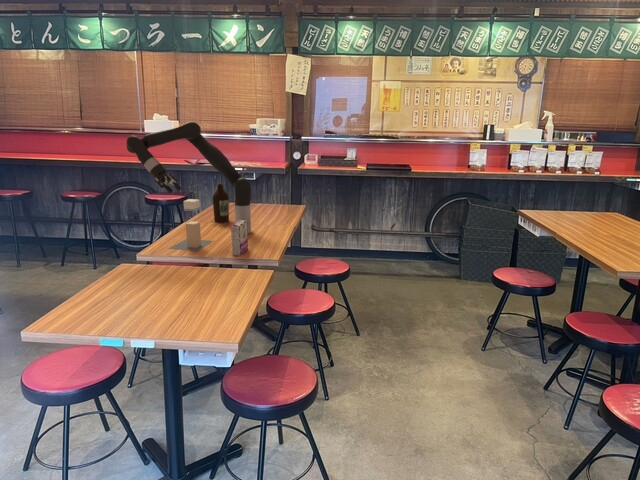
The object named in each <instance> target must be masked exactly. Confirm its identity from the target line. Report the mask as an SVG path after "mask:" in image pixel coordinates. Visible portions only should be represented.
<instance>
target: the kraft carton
mask: <svg viewBox="0 0 640 480" xmlns="http://www.w3.org/2000/svg"><path fill="white" fill-rule="evenodd" d="M185 233H186V239H187V247H192V248H197V247H199V246H201V240H202V235H201V233H202V232H201V221H193V220H192V221H189V222H186V223H185Z"/></svg>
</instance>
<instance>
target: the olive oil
mask: <svg viewBox="0 0 640 480" xmlns="http://www.w3.org/2000/svg"><path fill="white" fill-rule="evenodd" d="M223 184H224V183H222V182H218V183H217V189H216V191H215V192H214V193H213V194H212V197H211V198H212V207H213V218H214V222H215V223H227V222H229V220H230V218H229V217H230V196H229V194H228V193H227V191H225V190H224V188H223V187H224V186H223Z"/></svg>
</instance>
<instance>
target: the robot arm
mask: <svg viewBox="0 0 640 480" xmlns="http://www.w3.org/2000/svg"><path fill="white" fill-rule="evenodd" d="M201 130H202V129H201V126H200V125H199V124H198V123H197V122H194V121H188V122H185V123H184V124H182V125H180V126H177V127H174V128H170V129H166V130H160V131H155V132H151V133H147V134H144V136H143V137H141V138H139V136H137V135H130V136H128V137H127V139H126V150H127V151H128V152H129V153H131V154H135V155H136V156H137V159H138V161H139V162H140V163H141V164H142V165H143V166H144V167H145V169H146V170H147V172H148V173H149V174H150V175H151V176H152V177H153V178H154V181H155V182H156V183H157V185H158V186H159V187H160V188H161V189H165V190H166V191H167V192H168V193H169V194H172V193H173V192H174V190H173V188H171V186H170V185H172V186H174V188H175V189H176V190H177V191H181V189H182V187H181V185H179V183H178V182H179V180H178V178H176V177H175V176H174V175H173V174H172V173H171V172H169V173H167V168H166V167H165V166H164V165H163V164H162V163H161V162H160V161H159V160H158V159H157V158H156V157H155V156H154V155H153V154H152V152H150V151H149V149H150V148H154V147H158V146H163V145H165V144H168V143H171V142H174V141H177V140H182V139H186V140H187V141H188V142H189V143H190V144H191V145H193V147H195V148H196V149H197V151H199V153H200V154H201V155H202V157H204V159H206V161H207V162H208V163H209V164H210V165H211V167H213V168H214V169H215V171H217V172H219V173H220V174H221V175H222V176H223V177H224V178H225V179H226V180H227V181H228V182H229V183H230V184H231V186H232V187H233V189H234V194H235V197H234V219H235V220H234V223H235V222H237V221H238V220H245V221H247V235H248V234H249V235H250V234H251V233H252V212H251V210H252V209H251V200H252V185H251V182H250V180H248V179H247V178H246V177H244V176H243V175H242V174H240V173H239V172H238V171H237V170H236V168H235V167H234V166H233V165H232V163H231V162H230V161H229V159H228V157H227V156H226V155H225V154H224V153H223V152H222V151H221V150H220V149H219V148H218V147H216V146H215V145H214V144H212V143H211V142H209V141H208V139H206V138H205V137H204V136H203V135H202V134H201V132H202V131H201ZM168 184H170V185H168Z"/></svg>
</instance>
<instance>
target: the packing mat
mask: <svg viewBox="0 0 640 480" xmlns="http://www.w3.org/2000/svg"><path fill="white" fill-rule="evenodd" d="M213 242H215V240H205V239H201V246H199V247H197V248H192V247H187V238H185V239H184V240H182V241H180V242H178V243H177V244H173V245H172V246H171V247H168V248H167V249H169V250H179V251H180V250H181V251H188V252H200V251H201V250H202V249H204V248H205V247H207V246H208V245H209V246H210V245H211V244H212V243H213Z"/></svg>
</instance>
